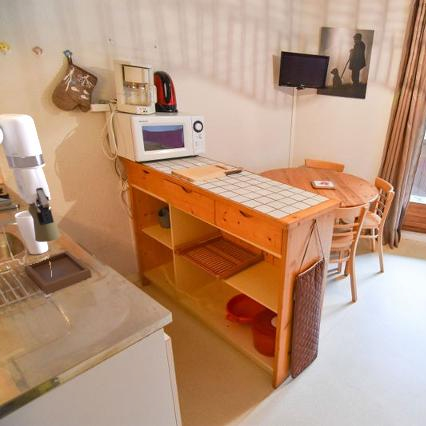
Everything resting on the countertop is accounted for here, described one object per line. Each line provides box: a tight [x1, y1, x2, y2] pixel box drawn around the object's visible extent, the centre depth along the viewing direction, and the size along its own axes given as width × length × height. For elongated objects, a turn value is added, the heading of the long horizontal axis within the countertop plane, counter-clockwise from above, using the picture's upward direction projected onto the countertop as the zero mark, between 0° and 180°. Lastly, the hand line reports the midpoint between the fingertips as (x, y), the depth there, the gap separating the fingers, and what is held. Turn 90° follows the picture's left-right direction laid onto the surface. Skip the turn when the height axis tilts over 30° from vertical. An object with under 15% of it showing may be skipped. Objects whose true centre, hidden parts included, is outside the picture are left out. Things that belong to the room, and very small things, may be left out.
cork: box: [28, 203, 62, 243], centre depth 94 cm, size 6×6×11 cm
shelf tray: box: [23, 250, 93, 295], centre depth 103 cm, size 18×12×3 cm, turn 55°
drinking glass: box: [14, 210, 49, 256], centre depth 112 cm, size 7×7×15 cm
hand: (43, 220), depth 94 cm, fingers closed on cork, 5 cm apart
